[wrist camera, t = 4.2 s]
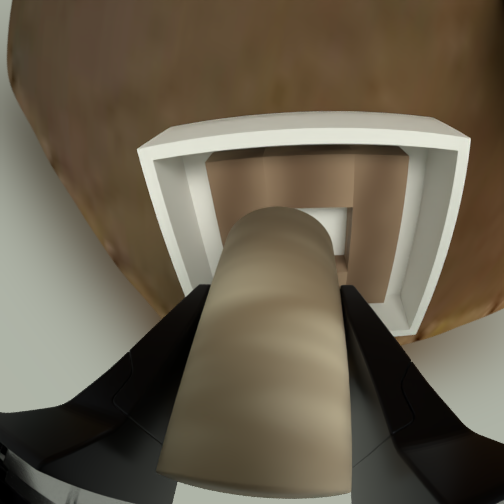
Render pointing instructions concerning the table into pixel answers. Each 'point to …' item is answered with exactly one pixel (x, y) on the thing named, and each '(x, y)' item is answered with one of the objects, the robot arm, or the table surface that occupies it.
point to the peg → (267, 369)
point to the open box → (333, 219)
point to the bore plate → (322, 198)
